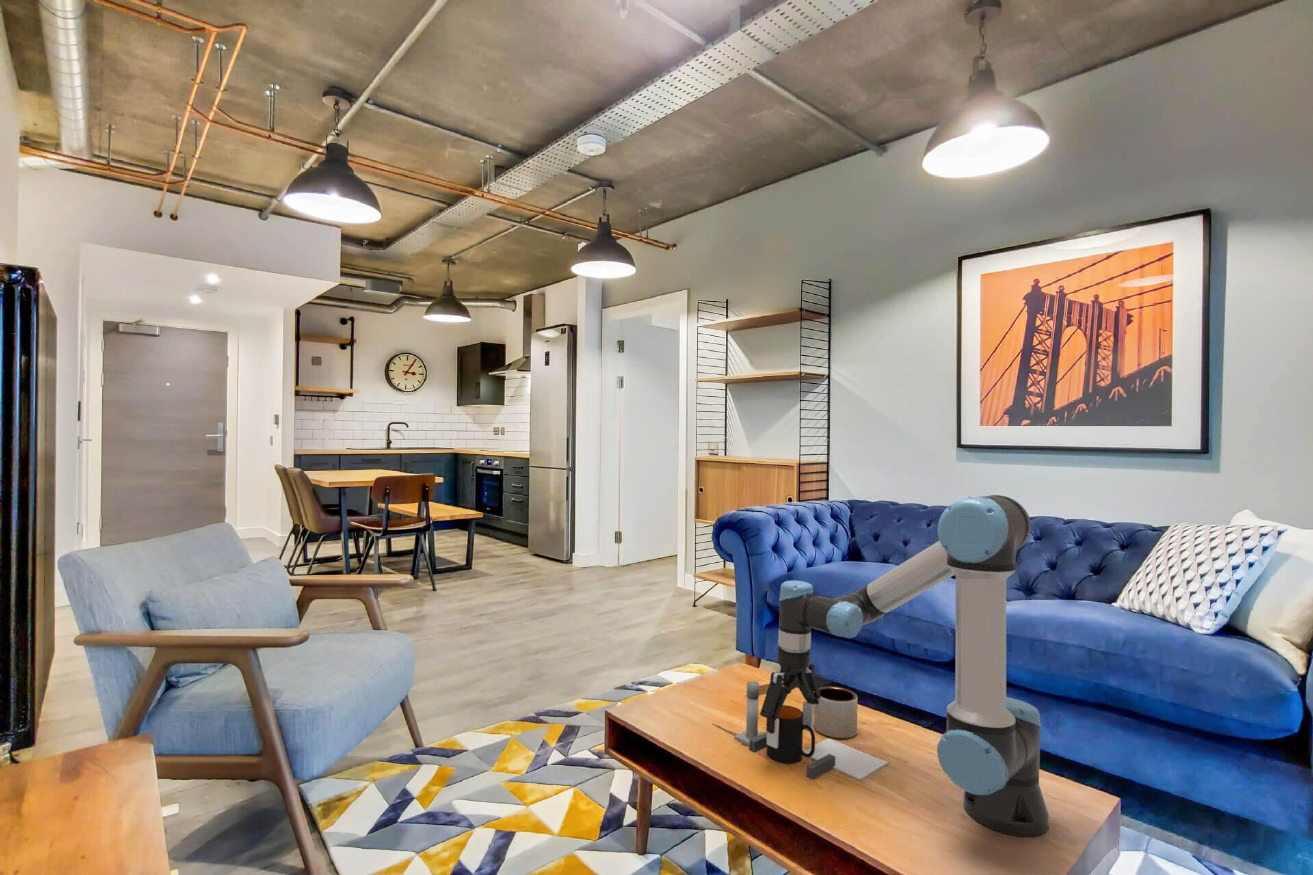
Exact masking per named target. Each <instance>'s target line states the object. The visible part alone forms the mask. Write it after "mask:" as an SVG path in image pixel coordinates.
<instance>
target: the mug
mask: <svg viewBox="0 0 1313 875" xmlns="http://www.w3.org/2000/svg"><path fill="white" fill-rule="evenodd" d="M773 713H774V712H773ZM777 718H778V719H779V735H778V748H774V747H771V746H769V745H767V747H766V755H767V757H768V758H769V760H771V761H773V762H774V763H779V764H783V765H784V764H785V765H792V764H793V765H794V764H798V763H800V762H801V761H802V759H803V757H804V758H808V757H811V756H812V755H813V754H814V751H815V745H816V736H815V732H814V729H813V730H812V728H811V727H810V726H808V725H803V710H801V709H800V708H797V707H795V706H791V705H787V704H783V705H782V708H781V710H780V712H779V714H778V716H777ZM806 728H807V729H808V730H809V731H810V732H809V731H808V732H809V733H810V735H811V740H810V741H811V743H810V744H811V745H810V747H811V751H810V753H809V754H806V753H804V752H803V750H804V749H803V742H804V741H803V734H804V733H803V732H804V731H805V729H806Z"/></svg>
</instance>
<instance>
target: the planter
mask: <svg viewBox="0 0 1313 875" xmlns="http://www.w3.org/2000/svg"><path fill="white" fill-rule="evenodd" d="M818 688H819V691H820V695H821V697H820V699H817V700H819V704H818V705H817V704H814V718H813V729H814V730H816V732H818V733H819V734H820V735H822V736H824V737H828V738H830V739H836V740H845V739H851V738H853V737H854V736H856V735H857V733H858V694H856V693H855V692H854V691H853V690H850V689H848V688H844V687H839V686H821V687H818Z"/></svg>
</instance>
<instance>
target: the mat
mask: <svg viewBox="0 0 1313 875" xmlns="http://www.w3.org/2000/svg"><path fill="white" fill-rule="evenodd" d="M802 750H803V752H804V753H806V754H809V753H810V751H811V746H810V747H808V748H805V749H802ZM828 754H831V755H833V756H835V766H833V770H836V771H838V772H839V773H842V774H845V775H847V776H849V777H851V778H852V779H855V780H858V781H862V780H863V779H866V778H867V777H869V776H871V775H873V773H875V772H877V771H878V770H880V769H883V768H884V767H885V766H887V765H888V764H889V762H887V761H886V760H882V759H880V758H879V757H875V756H873V755H871V754H868V753H866V752H864V751H860V750H859V749H856V748H853V747H851V746H848V745H847V744H844V743H842V742H839V741H837V740H834V739H833V738H830V737H828V738H826V739H824V740H822V741H820V742H818V743H815V751H814V754H813V755H812V756H811V757H807V758H809V759H811V760H814V762H815V761H817V760H819V759H821V758H823V757H825V756H826V755H828Z"/></svg>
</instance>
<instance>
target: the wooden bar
mask: <svg viewBox="0 0 1313 875" xmlns="http://www.w3.org/2000/svg"><path fill="white" fill-rule="evenodd" d="M769 684H770V678H769V679H765V680H759V681H747V682H746V697H747V696H748V697H750V698H758V699H759V697H760V696H763V695H766V694H767V690H768V687H769ZM782 686H783V687H784V685H783V684H782Z"/></svg>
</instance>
